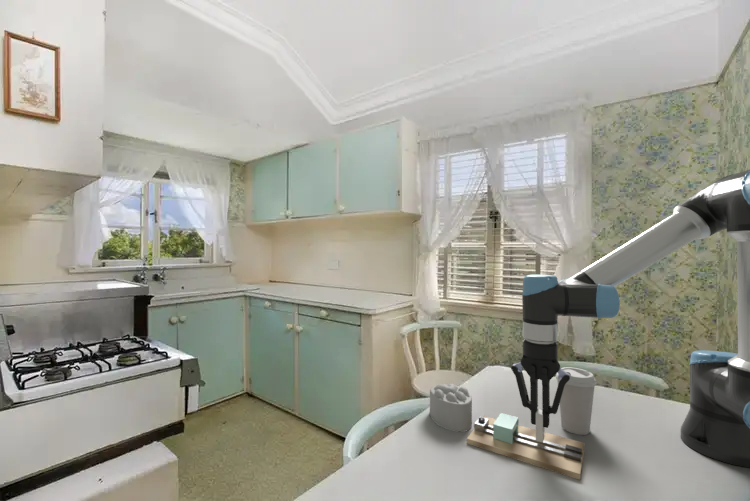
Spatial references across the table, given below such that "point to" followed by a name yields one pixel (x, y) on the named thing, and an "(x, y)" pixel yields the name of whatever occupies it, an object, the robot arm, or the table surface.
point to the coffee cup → (577, 401)
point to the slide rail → (568, 451)
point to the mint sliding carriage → (505, 427)
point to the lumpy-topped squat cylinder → (451, 407)
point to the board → (531, 450)
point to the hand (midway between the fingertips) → (540, 438)
